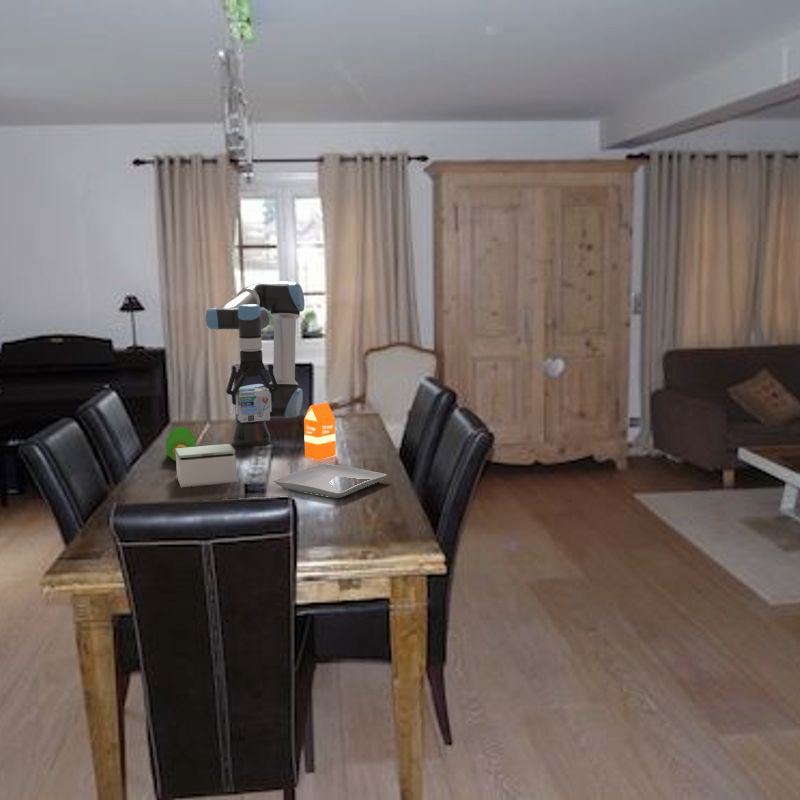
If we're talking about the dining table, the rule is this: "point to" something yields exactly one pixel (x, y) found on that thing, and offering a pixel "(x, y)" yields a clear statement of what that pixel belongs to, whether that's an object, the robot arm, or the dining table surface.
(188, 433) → the decorative tree
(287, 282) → the robot arm
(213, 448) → the box lid
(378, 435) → the dining table surface
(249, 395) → the light bulb box
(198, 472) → the beige box
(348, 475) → the square plate
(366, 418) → the dining table surface
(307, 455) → the orange juice
